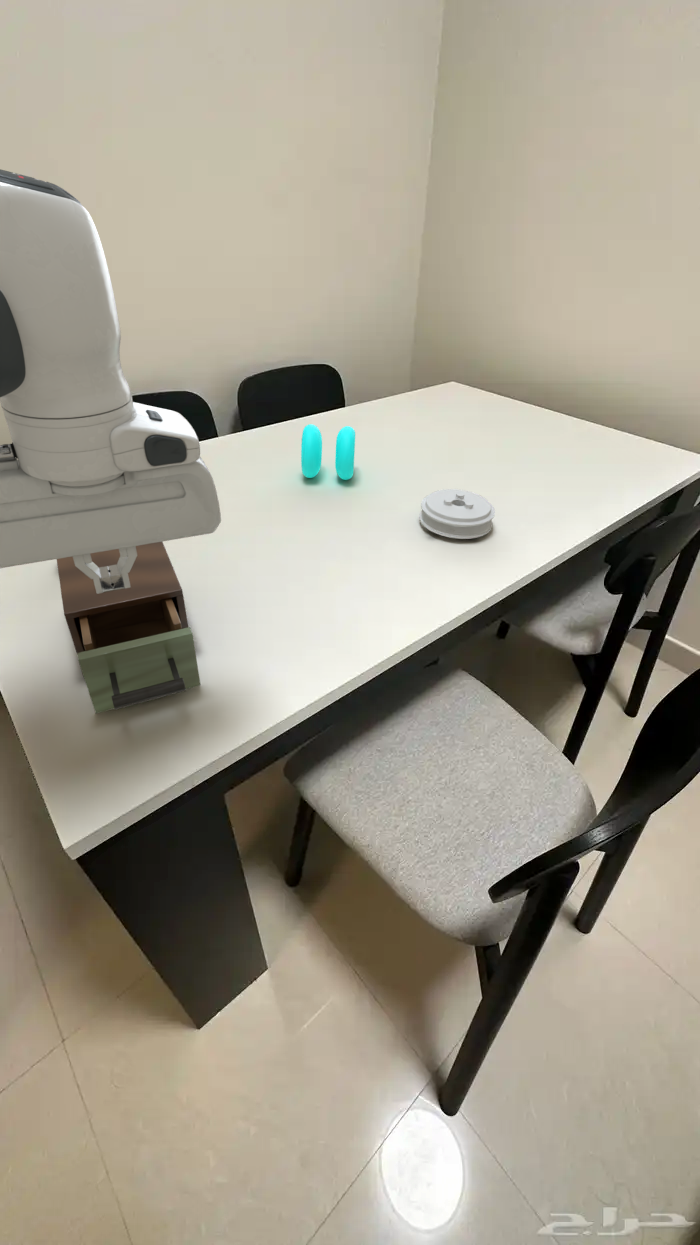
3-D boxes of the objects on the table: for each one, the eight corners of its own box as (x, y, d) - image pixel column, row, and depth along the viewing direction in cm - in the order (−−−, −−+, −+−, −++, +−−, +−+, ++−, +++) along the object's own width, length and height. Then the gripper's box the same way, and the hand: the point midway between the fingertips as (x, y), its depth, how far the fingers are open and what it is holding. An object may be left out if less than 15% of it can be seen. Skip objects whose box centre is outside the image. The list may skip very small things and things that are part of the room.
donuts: (352, 488, 111) (355, 437, 105) (300, 486, 111) (300, 434, 105) (353, 467, 119) (356, 419, 113) (305, 465, 119) (304, 416, 113)
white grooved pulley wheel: (471, 505, 108) (476, 480, 105) (504, 539, 99) (510, 513, 96) (408, 512, 105) (411, 486, 102) (435, 547, 96) (439, 520, 92)
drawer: (211, 714, 63) (203, 661, 59) (101, 746, 59) (83, 692, 55) (175, 618, 76) (167, 568, 72) (83, 639, 72) (67, 588, 67)
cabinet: (192, 652, 73) (182, 589, 67) (85, 678, 68) (63, 614, 62) (168, 589, 83) (158, 530, 77) (74, 609, 78) (54, 548, 72)
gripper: (-88, 471, 38) (-18, 633, 47) (219, 438, 46) (231, 584, 54) (-79, 437, 43) (-17, 591, 51) (199, 412, 50) (213, 551, 58)
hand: (113, 587), depth 53 cm, fingers closed
